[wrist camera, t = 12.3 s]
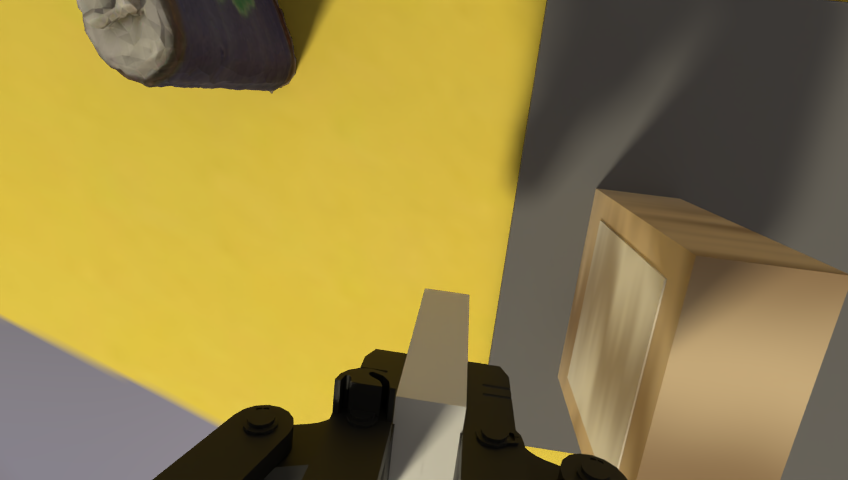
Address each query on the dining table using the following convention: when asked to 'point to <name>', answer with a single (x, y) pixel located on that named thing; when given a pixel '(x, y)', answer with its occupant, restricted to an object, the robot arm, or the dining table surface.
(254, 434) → the robot arm
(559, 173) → the mat
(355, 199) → the dining table surface
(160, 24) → the flask
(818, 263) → the oak tile
